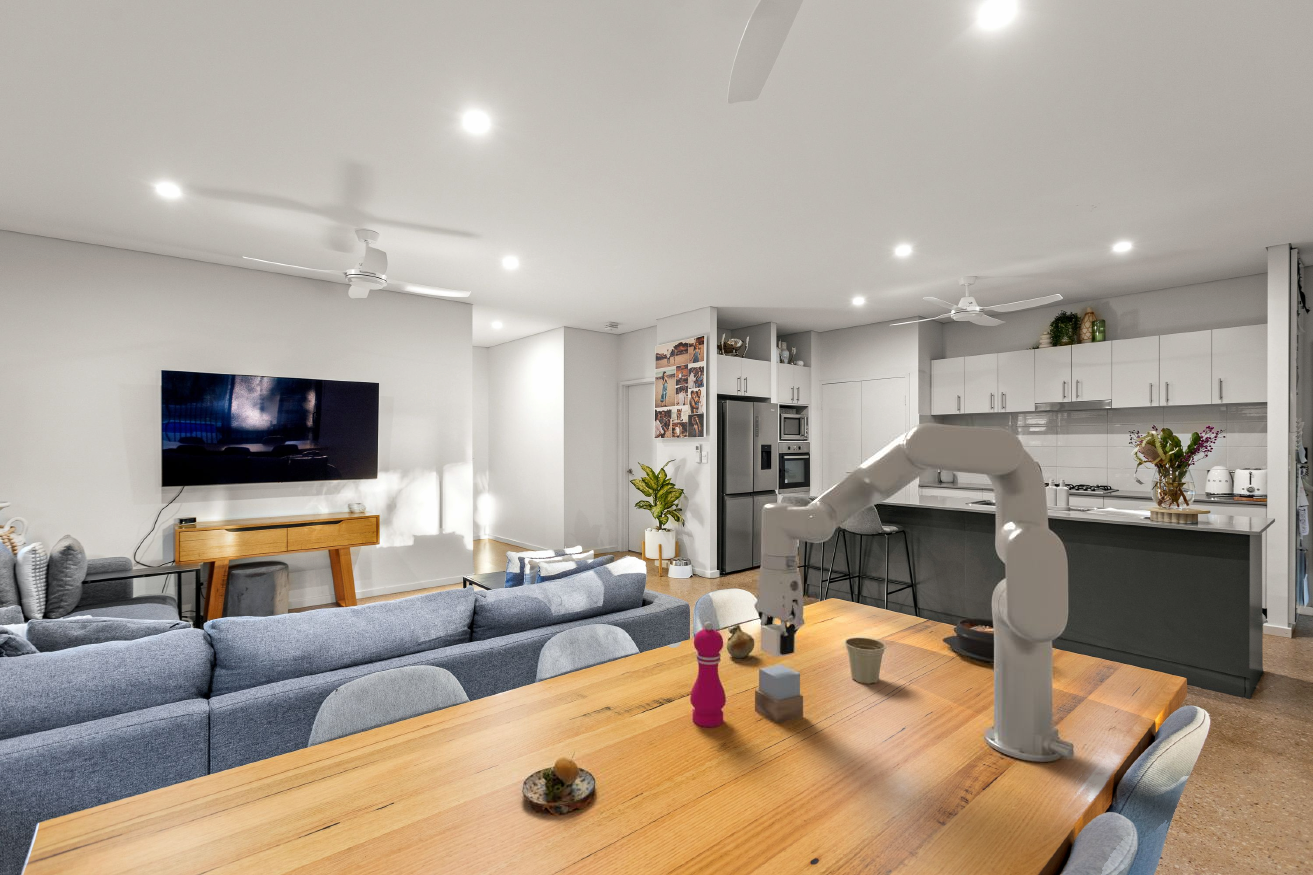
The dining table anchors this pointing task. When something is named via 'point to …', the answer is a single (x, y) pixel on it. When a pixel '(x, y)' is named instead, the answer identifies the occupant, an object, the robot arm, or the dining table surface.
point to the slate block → (779, 682)
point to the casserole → (974, 639)
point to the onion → (739, 643)
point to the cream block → (772, 639)
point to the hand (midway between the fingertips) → (777, 648)
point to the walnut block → (778, 707)
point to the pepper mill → (708, 679)
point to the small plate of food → (559, 788)
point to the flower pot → (865, 659)
